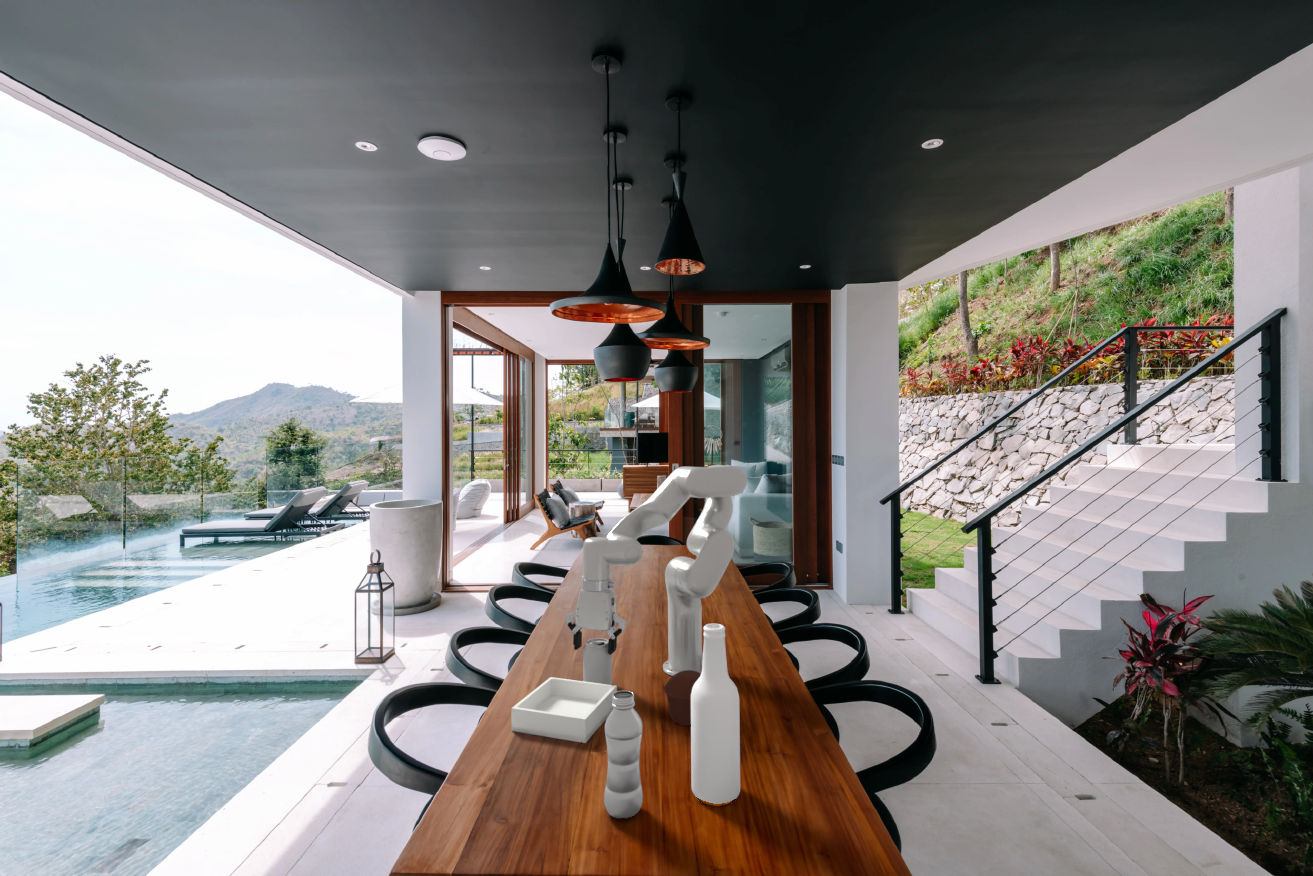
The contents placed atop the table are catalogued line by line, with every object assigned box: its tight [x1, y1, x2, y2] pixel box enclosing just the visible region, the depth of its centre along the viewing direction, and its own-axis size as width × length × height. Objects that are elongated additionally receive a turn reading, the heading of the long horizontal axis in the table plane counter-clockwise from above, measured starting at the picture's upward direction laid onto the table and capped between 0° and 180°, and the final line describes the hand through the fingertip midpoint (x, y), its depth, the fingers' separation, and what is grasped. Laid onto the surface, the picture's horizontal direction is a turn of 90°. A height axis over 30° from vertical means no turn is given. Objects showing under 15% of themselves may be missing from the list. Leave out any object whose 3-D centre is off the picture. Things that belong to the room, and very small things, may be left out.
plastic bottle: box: [603, 690, 644, 820], centre depth 97 cm, size 6×7×20 cm
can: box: [582, 637, 613, 685], centre depth 148 cm, size 8×8×12 cm
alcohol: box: [690, 623, 741, 804], centre depth 102 cm, size 9×9×30 cm
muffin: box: [663, 670, 701, 726], centre depth 132 cm, size 12×11×10 cm
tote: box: [510, 676, 618, 744], centre depth 131 cm, size 18×18×5 cm
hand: (594, 650), depth 148 cm, fingers open, 9 cm apart
